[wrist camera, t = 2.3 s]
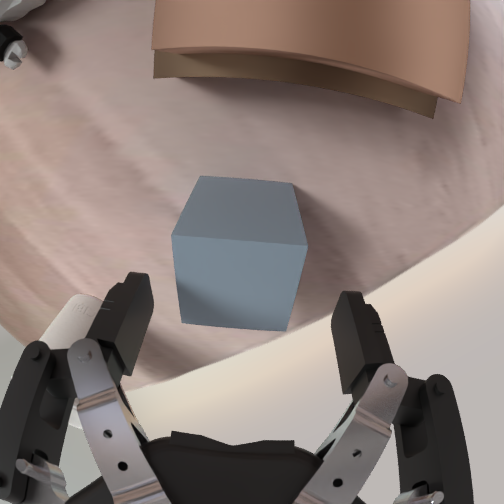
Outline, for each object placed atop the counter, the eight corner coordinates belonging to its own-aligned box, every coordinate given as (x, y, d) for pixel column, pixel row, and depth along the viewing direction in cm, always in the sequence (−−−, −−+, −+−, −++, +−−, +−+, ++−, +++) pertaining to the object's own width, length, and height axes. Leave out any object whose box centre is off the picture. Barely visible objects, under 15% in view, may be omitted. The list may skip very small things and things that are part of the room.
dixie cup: (134, 352, 26) (109, 441, 18) (64, 326, 24) (29, 405, 16) (137, 301, 21) (97, 415, 13) (51, 269, 19) (-6, 363, 11)
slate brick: (201, 249, 18) (181, 323, 13) (200, 175, 15) (171, 234, 10) (279, 256, 18) (285, 331, 13) (291, 182, 15) (308, 245, 10)
